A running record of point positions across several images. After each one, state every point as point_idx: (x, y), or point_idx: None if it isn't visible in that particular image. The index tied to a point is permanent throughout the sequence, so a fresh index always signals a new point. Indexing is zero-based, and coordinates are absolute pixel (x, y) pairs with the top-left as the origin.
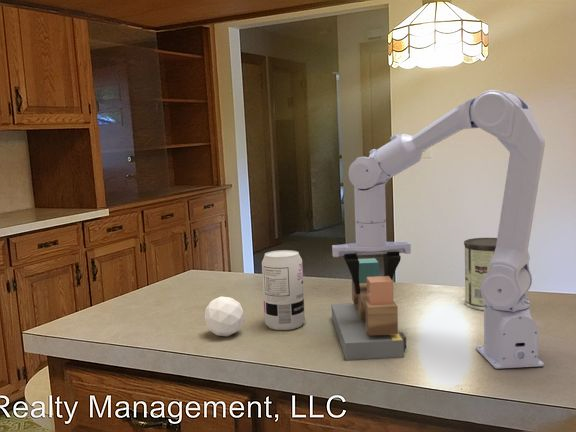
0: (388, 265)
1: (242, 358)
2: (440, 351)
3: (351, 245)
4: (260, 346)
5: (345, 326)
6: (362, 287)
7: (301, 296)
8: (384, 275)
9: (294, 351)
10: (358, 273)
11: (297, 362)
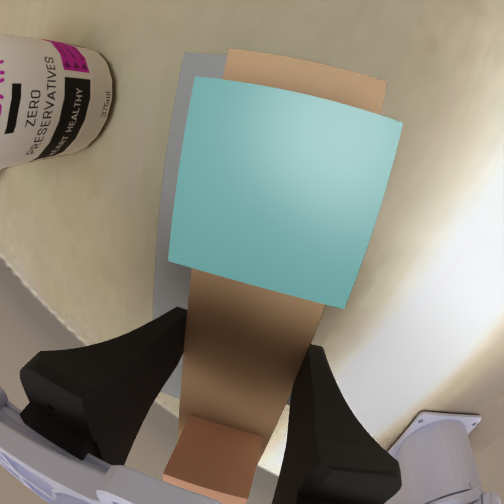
0: (275, 498)
1: (22, 275)
2: (359, 401)
3: (39, 489)
4: (34, 232)
5: (169, 304)
6: (211, 301)
7: (44, 132)
8: (310, 386)
9: (83, 285)
10: (141, 420)
11: (90, 333)
